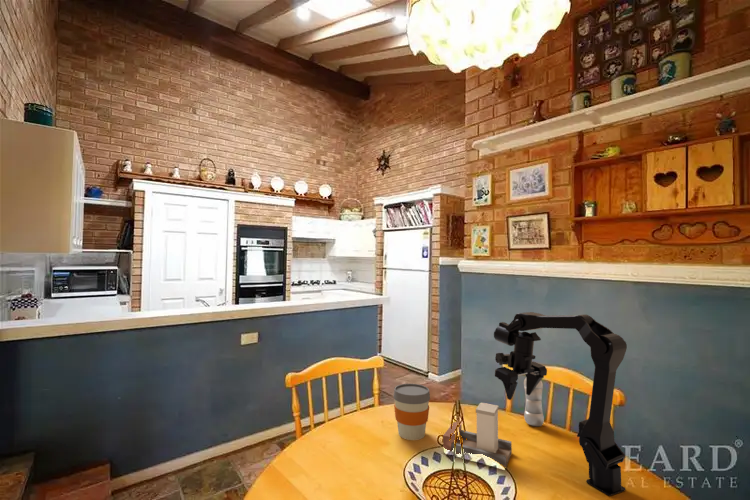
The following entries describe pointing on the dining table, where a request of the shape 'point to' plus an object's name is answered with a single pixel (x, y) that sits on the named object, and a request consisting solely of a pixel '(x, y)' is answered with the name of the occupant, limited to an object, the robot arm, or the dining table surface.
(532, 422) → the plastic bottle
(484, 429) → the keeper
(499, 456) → the track
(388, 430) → the dining table surface
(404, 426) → the reusable coffee cup
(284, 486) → the dining table surface
